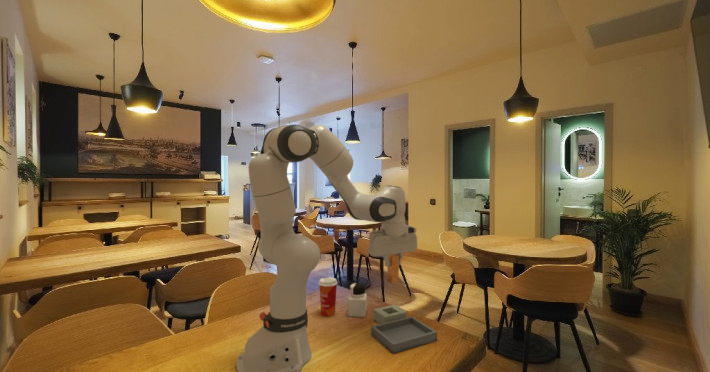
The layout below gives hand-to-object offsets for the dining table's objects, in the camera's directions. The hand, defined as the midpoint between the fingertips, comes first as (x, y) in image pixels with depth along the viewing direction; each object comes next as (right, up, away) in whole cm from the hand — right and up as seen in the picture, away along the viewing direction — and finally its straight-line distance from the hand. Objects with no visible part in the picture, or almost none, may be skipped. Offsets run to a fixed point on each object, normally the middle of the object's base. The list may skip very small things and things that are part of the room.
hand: (393, 265), depth 121 cm
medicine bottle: (-13, -23, +11) cm, 28 cm away
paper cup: (-25, -23, +10) cm, 36 cm away
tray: (+3, -23, -9) cm, 25 cm away
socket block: (-1, -23, +4) cm, 23 cm away
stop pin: (0, -6, 0) cm, 6 cm away
